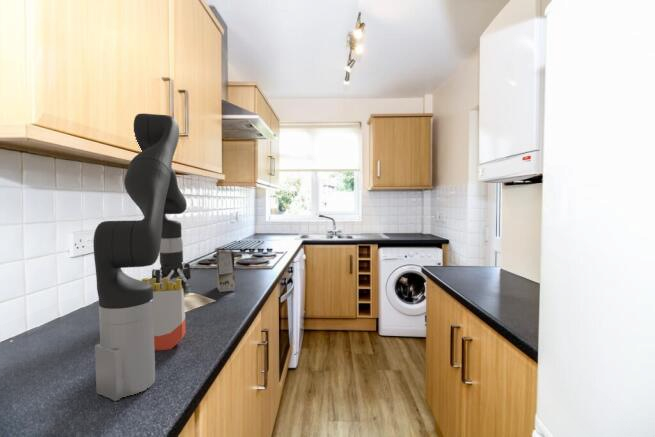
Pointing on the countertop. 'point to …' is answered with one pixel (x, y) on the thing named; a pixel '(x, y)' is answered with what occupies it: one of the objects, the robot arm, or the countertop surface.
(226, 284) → the coffee box
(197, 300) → the beige and grey tray
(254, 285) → the countertop surface
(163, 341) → the french fries container
